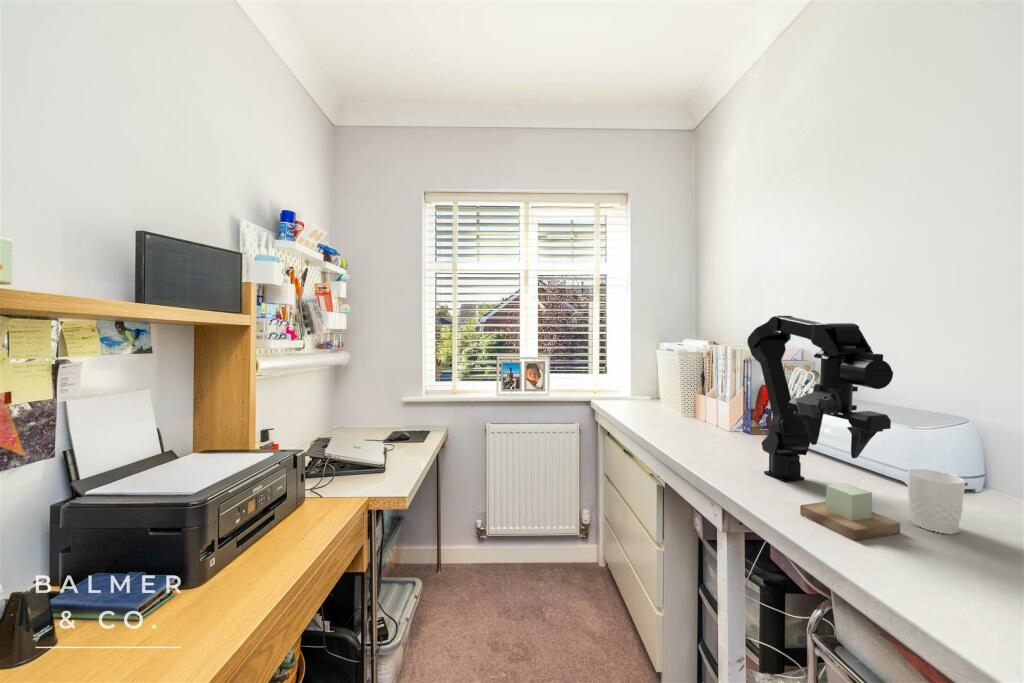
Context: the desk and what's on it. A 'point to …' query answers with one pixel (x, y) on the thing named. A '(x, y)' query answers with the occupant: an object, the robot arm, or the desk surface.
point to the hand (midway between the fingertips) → (833, 451)
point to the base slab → (851, 523)
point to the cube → (849, 501)
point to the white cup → (935, 500)
